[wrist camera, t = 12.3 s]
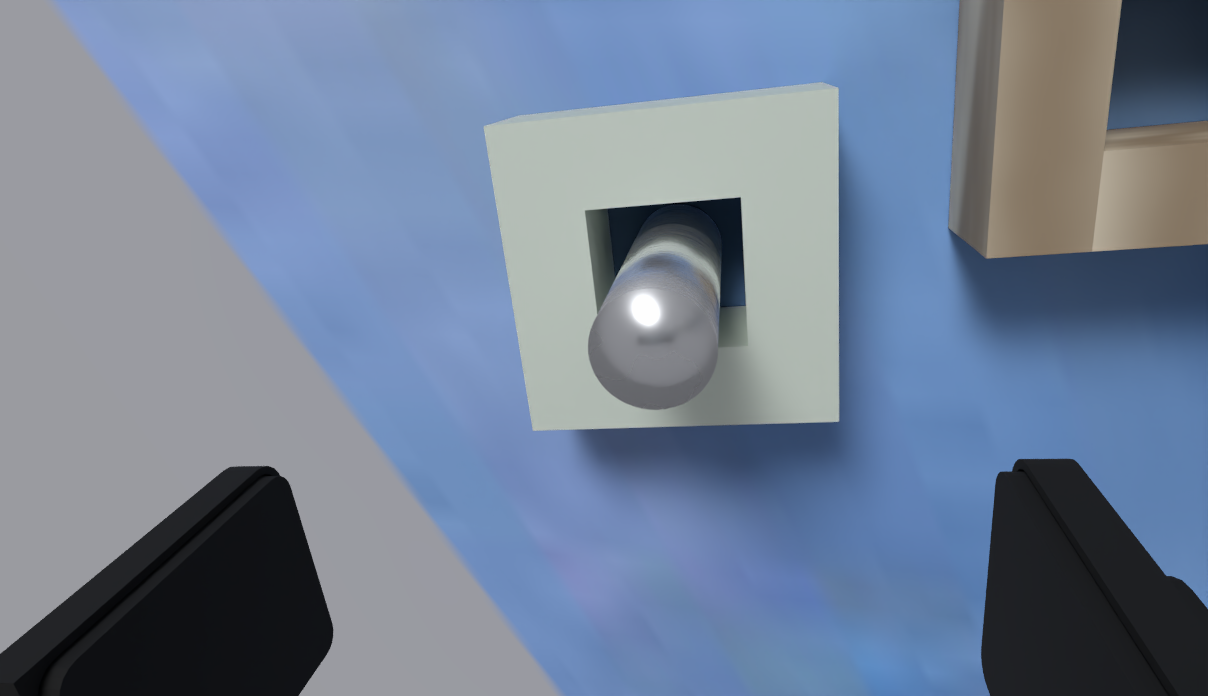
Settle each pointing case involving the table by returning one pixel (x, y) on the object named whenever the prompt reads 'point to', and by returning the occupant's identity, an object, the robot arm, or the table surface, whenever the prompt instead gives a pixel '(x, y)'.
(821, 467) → the table surface
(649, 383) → the metal pin
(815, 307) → the sage socket block
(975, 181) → the birch mount block
